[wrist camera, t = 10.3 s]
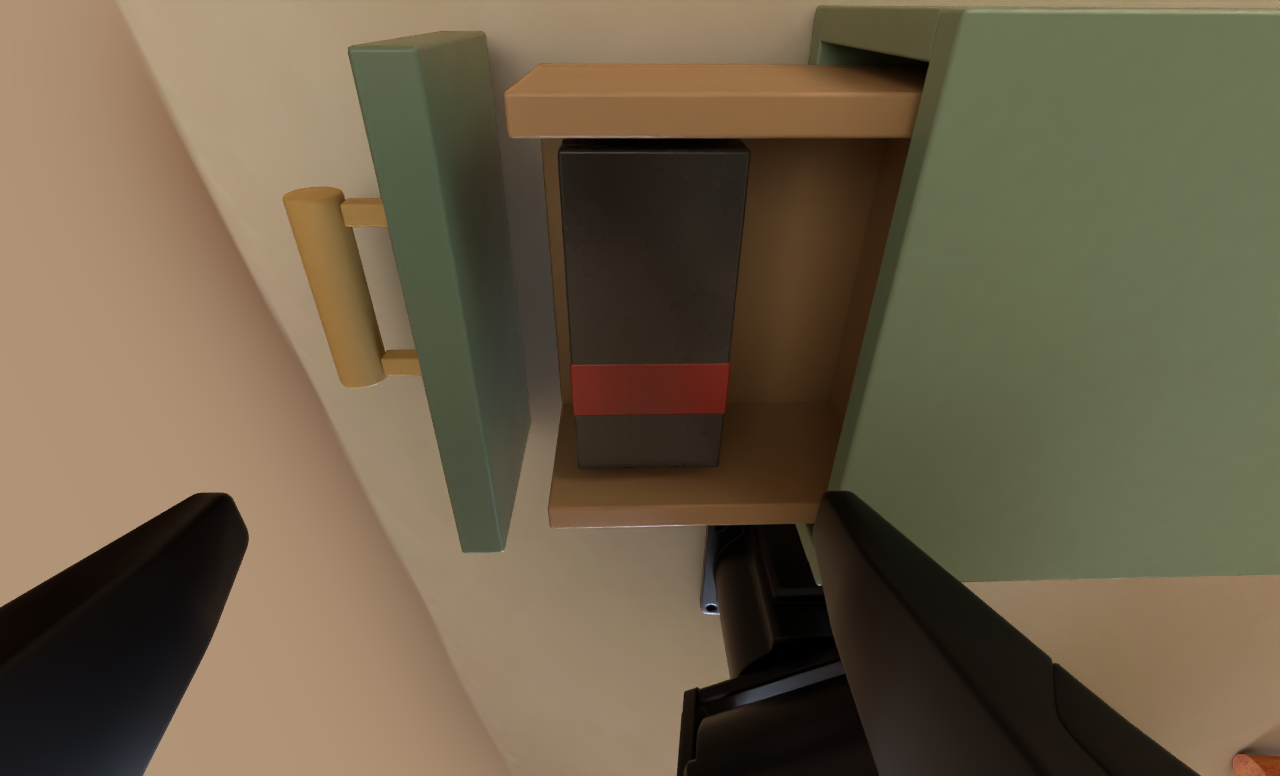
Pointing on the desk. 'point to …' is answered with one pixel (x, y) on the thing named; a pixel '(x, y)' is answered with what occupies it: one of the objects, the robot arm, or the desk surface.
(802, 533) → the cabinet
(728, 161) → the black red-striped block
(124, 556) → the robot arm
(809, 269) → the drawer
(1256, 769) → the purple and orange maraca
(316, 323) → the desk surface
